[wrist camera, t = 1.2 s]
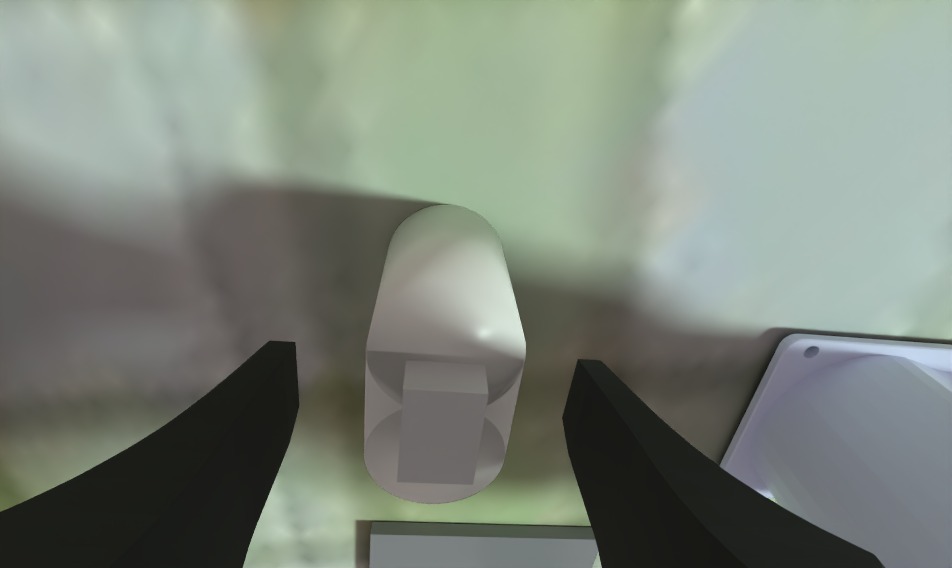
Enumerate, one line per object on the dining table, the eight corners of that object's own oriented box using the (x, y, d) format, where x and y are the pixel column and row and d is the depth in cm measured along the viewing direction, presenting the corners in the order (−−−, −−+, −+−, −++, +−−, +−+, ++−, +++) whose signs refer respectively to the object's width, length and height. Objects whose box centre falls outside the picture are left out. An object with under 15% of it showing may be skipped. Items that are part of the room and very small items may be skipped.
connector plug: (511, 210, 15) (547, 317, 10) (482, 387, 18) (498, 539, 13) (389, 198, 15) (359, 303, 9) (382, 381, 18) (357, 536, 13)
